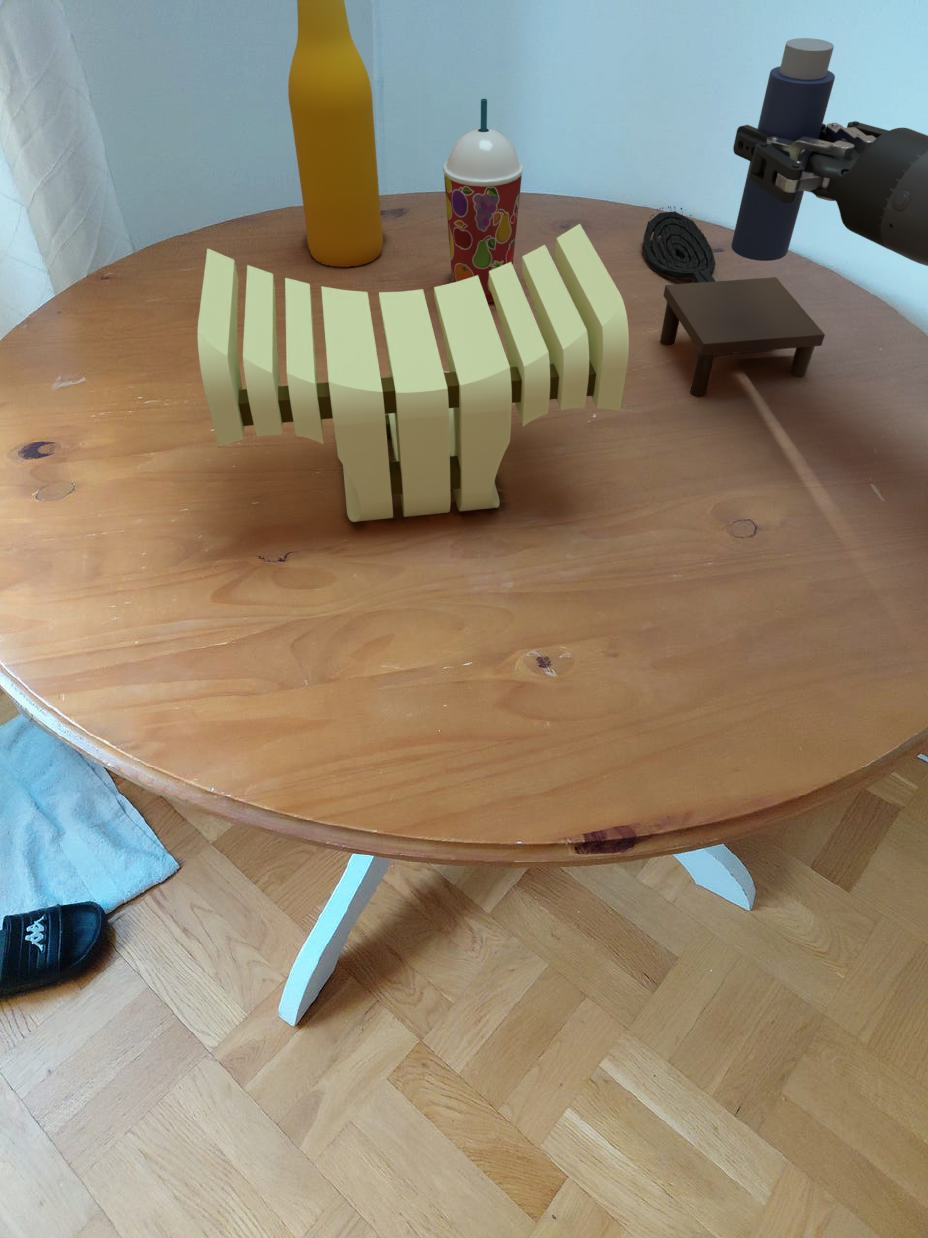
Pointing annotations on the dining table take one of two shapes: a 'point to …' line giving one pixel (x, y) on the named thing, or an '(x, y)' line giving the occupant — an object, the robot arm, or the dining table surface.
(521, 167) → the smoothie
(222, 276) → the slatted curved stool
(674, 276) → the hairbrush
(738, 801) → the dining table surface
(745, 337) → the side table
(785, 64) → the thermos flask
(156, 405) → the dining table surface
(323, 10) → the beer bottle
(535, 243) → the dining table surface
